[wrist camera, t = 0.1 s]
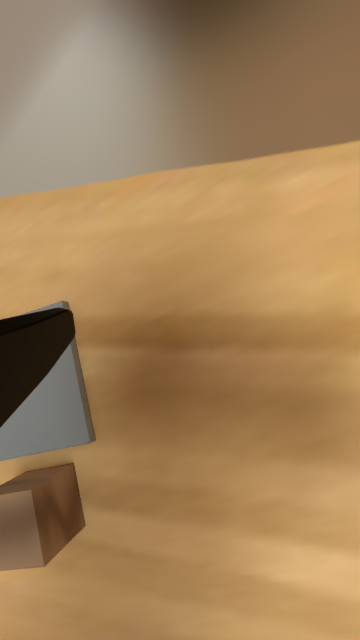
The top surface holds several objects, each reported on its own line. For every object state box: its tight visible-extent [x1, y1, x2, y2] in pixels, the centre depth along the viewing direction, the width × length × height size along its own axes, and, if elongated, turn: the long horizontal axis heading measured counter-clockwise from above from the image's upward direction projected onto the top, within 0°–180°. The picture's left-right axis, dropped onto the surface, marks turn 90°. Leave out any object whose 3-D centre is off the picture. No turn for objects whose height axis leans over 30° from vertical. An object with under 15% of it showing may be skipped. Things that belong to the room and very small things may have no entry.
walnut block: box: [0, 463, 85, 571], centre depth 24 cm, size 5×5×5 cm
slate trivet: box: [0, 301, 95, 461], centre depth 28 cm, size 12×12×1 cm
